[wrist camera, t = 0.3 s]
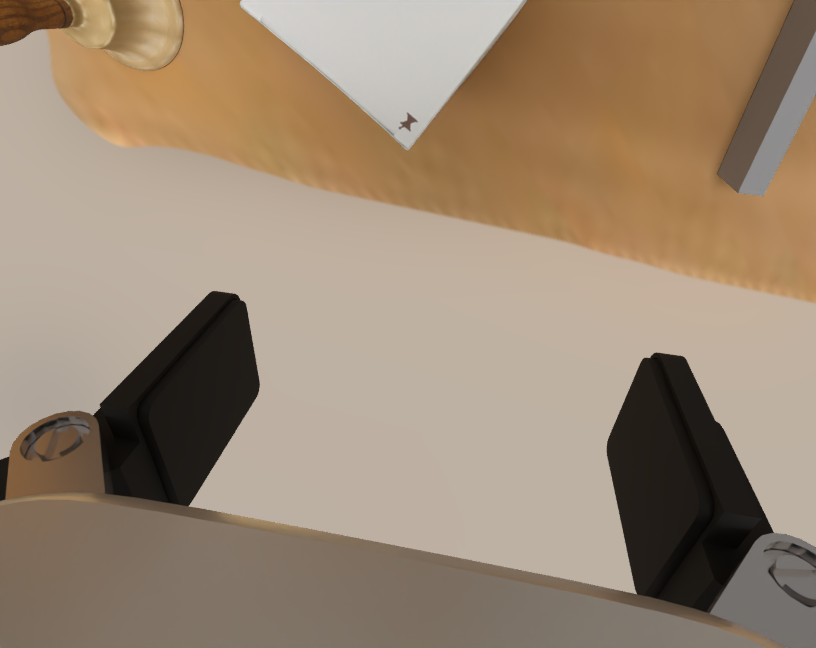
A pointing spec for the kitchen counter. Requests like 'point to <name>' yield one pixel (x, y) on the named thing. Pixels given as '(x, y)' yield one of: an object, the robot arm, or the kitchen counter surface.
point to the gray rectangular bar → (775, 105)
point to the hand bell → (103, 26)
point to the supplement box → (390, 50)
